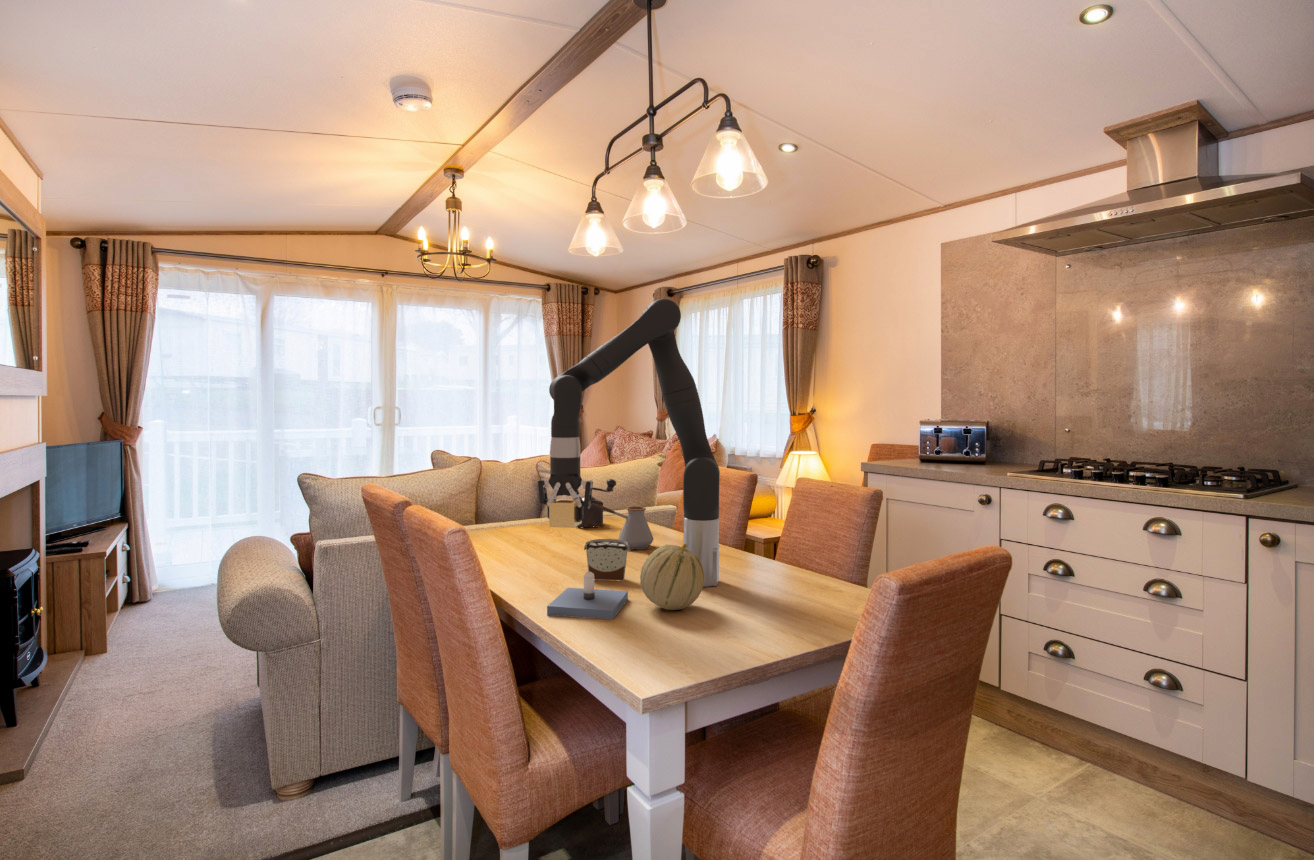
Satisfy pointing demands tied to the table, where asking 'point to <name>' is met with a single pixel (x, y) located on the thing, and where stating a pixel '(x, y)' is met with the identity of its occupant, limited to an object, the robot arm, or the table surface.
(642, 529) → the coffee pot
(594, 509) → the manual coffee grinder
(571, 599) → the post stand
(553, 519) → the brass collar
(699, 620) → the table surface
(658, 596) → the cantaloupe
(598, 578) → the food container
